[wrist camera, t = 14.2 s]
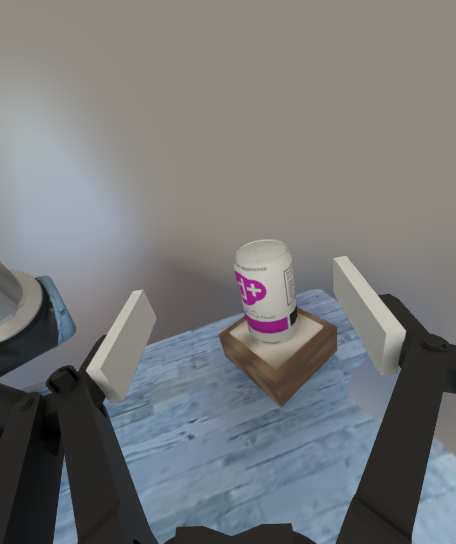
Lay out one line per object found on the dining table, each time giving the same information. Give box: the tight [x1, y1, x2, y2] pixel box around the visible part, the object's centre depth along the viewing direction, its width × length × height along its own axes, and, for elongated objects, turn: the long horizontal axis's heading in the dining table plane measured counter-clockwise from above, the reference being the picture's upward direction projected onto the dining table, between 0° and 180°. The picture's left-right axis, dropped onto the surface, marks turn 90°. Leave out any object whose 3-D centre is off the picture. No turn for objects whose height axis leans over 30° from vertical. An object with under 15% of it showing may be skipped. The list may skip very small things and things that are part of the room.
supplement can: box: [234, 239, 299, 345], centre depth 39 cm, size 8×8×15 cm
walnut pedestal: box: [219, 308, 337, 407], centre depth 44 cm, size 14×14×6 cm
